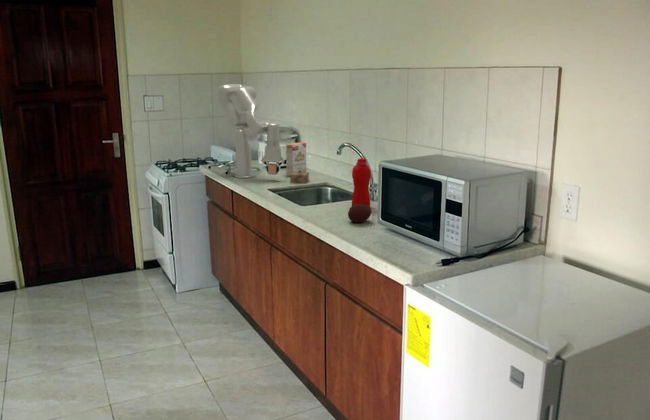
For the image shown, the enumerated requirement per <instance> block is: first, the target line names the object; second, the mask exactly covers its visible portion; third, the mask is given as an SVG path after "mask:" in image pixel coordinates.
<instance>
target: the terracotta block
mask: <svg viewBox="0 0 650 420" xmlns="http://www.w3.org/2000/svg"><path fill="white" fill-rule="evenodd" d="M276 167H277V164H276V163H274V162H269V164H268V173H267V175H271V176H272V175H274V176H277V175H278V173H276Z"/></svg>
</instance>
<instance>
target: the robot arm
mask: <svg viewBox="0 0 650 420" xmlns="http://www.w3.org/2000/svg"><path fill="white" fill-rule="evenodd" d="M257 96H258V92H257V90H256V89H255V88H254V87H253V86H249V85H246V84H240V83H232V84H231V83H230V84H229V83H228V84H221V85H220V86H219V87H218V89H217V92H216V97H217V100H218V101H217V102H218V103H219V104H220V106H221V108H222V109H223V112H224V114H225V116H226V118H227V121H228V122H229V124H230V126H231V127H233V128H236V129H235V130H234V132H233V141H234V144H235V157H236V158H235V159H236V169H230V174H234V177H235V178H238V179H249V178H254V177H255V173H252V171H253V170H252V149H251V146H250V143H249V142H255V141H256V140H258V139H259V136H260V135H266V140H264V144H266V145H265V147H264V152H263V153H264V156H263V157H262V158H261V159H260V162H262V163H263V164H264V165H265V167H266V172H267V174H268V164H270V163H275V164H277V167H276V173H277V174H278V173H279V172H280V167H281V165H283V164H284V163H285V162H286V161H285V159H284V158H283V156H282V149H281V145H280V124H279V123H277V122H271V121H266V120H265V121H258V120H257V119H256V118H255V114H254V113H255V112H256V111H257V110H258V108H259V107H258V104H257V102H256V100H255V99H256V98H257ZM233 98H236V99H237V100H238V103H239V104H240V106H241V107H242V109H243V110H244V111H240V109H239V108H238V107H237V104H236V103H235V102H234V101H233V100H232V99H233Z"/></svg>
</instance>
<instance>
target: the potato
mask: <svg viewBox="0 0 650 420" xmlns="http://www.w3.org/2000/svg"><path fill="white" fill-rule="evenodd" d="M371 215H372V210H371V207H370V208H369V207H368V206H367V205H364V204H355V205H353V206H352V205H351V207H350V208H349V209H348V211H347V216H348V219H349V220H350V221H351V222H353V223H356V222H357V224H360V222H361V223H364V222H365V221H367V220H368V219H369V218H370V217H371Z"/></svg>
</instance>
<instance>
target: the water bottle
mask: <svg viewBox="0 0 650 420" xmlns="http://www.w3.org/2000/svg"><path fill="white" fill-rule="evenodd" d="M348 177H351V178H352V183H348V186H349V185H352V184H353V193H352V196H351V207H352V206H353V205H355V204H364V205H367V206H368V207H369V208H370V209H371V198H370V191H369V189H370V188H369V187H370V186H369V185H370V182H371V178H372V173H371V168H370V167H369V165H367V159H366V158H361V157H360V158H358V159H357V160H356V163H355V165H354V166H353V167H352V169H351V171H350V174H349V175H348Z"/></svg>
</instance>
